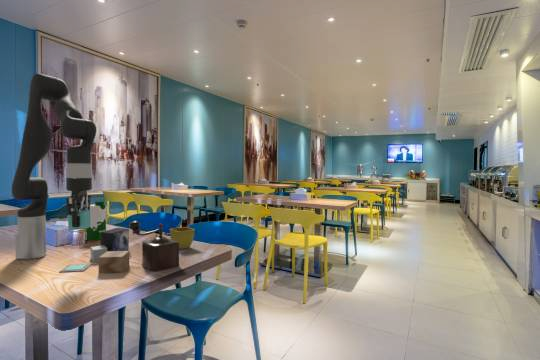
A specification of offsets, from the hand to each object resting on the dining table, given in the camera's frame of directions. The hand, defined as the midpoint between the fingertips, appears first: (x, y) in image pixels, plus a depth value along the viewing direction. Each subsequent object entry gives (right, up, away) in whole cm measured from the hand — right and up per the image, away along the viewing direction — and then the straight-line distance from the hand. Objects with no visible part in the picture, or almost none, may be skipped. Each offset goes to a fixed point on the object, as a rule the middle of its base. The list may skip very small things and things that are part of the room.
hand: (79, 225), depth 105 cm
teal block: (0, -1, 0) cm, 1 cm away
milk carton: (-26, -16, +55) cm, 62 cm away
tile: (-6, -17, +8) cm, 20 cm away
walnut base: (+9, -18, +7) cm, 21 cm away
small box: (-2, -17, +28) cm, 33 cm away
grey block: (-2, -15, +17) cm, 22 cm away
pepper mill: (+22, -18, +10) cm, 30 cm away
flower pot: (+24, -17, +39) cm, 49 cm away
